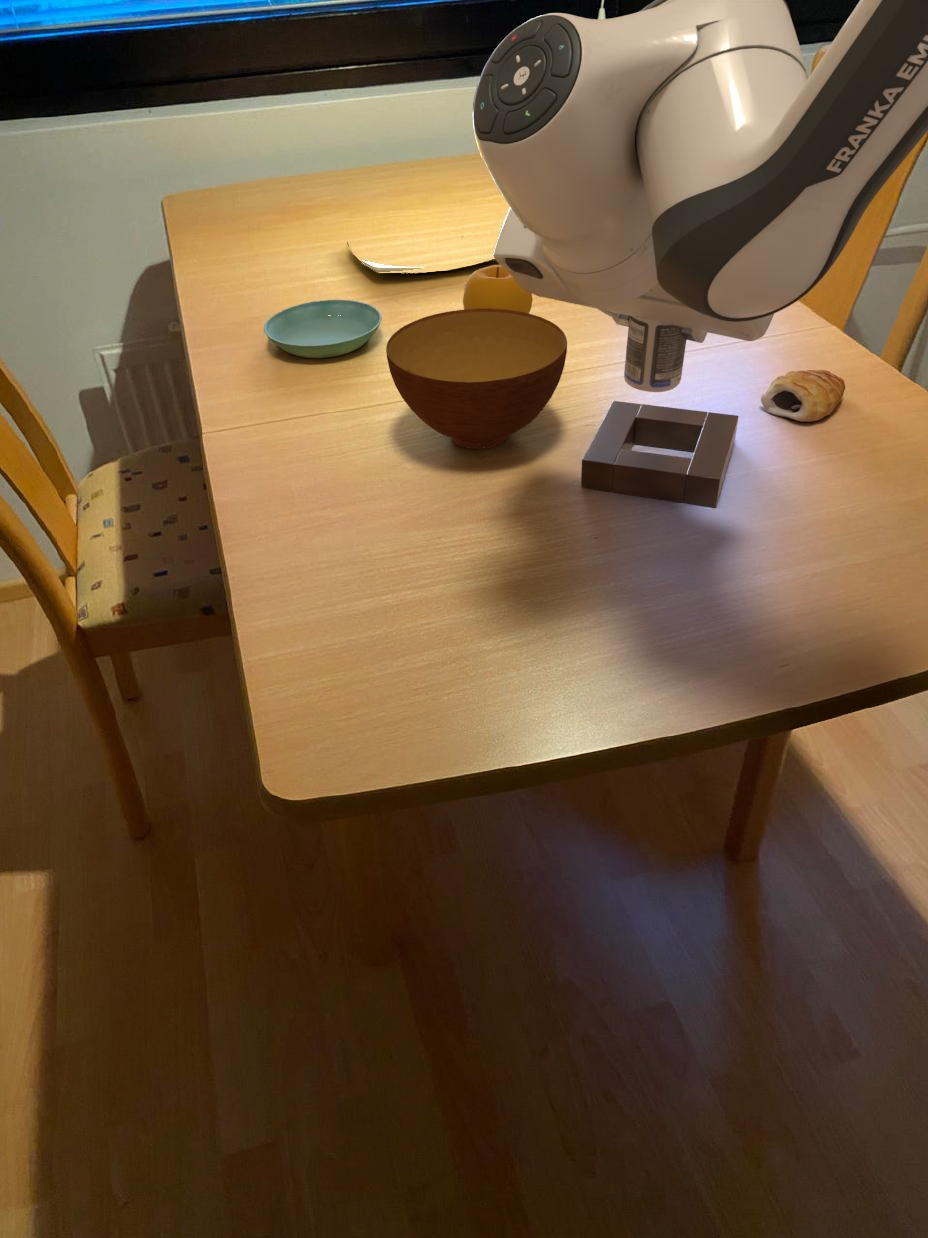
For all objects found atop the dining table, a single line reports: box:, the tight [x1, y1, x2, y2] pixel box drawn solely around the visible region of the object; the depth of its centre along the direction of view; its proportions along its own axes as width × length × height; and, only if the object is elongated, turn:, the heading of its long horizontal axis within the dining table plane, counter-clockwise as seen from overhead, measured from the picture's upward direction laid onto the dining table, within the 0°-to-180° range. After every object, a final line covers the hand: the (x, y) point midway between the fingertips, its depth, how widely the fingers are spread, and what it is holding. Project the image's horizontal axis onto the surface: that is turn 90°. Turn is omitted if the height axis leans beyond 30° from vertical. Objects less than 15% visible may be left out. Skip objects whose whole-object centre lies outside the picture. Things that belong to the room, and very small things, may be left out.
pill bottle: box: [623, 316, 687, 393], centre depth 75 cm, size 5×5×8 cm
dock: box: [580, 400, 740, 508], centre depth 90 cm, size 13×13×3 cm
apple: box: [462, 264, 533, 314], centre depth 113 cm, size 9×8×9 cm
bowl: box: [385, 309, 568, 450], centre depth 94 cm, size 18×18×10 cm
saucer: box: [263, 299, 383, 359], centre depth 117 cm, size 15×15×3 cm
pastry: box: [760, 369, 846, 423], centre depth 98 cm, size 9×7×4 cm
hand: (662, 325), depth 76 cm, fingers closed on pill bottle, 5 cm apart
